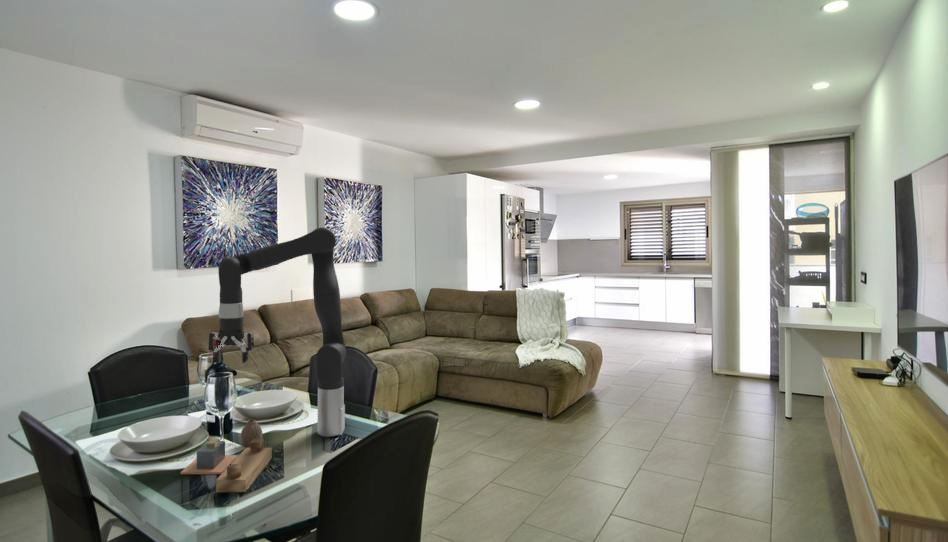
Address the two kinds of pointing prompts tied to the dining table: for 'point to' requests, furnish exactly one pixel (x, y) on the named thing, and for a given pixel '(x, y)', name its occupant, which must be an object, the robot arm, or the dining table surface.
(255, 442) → the plane body
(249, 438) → the brown oval piece
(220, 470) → the mat
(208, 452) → the grey block
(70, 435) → the dining table surface
